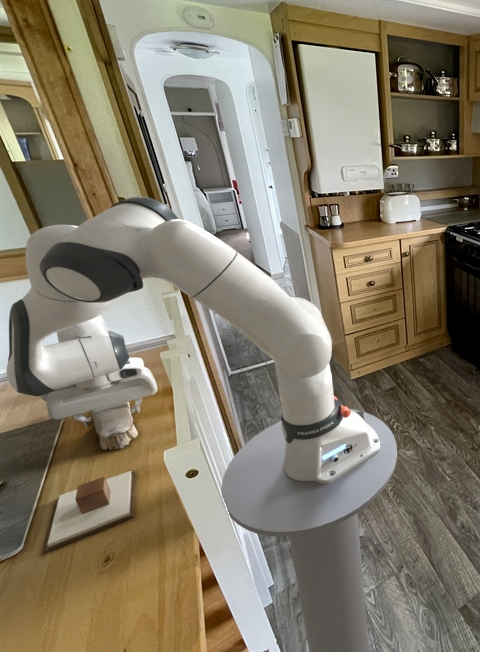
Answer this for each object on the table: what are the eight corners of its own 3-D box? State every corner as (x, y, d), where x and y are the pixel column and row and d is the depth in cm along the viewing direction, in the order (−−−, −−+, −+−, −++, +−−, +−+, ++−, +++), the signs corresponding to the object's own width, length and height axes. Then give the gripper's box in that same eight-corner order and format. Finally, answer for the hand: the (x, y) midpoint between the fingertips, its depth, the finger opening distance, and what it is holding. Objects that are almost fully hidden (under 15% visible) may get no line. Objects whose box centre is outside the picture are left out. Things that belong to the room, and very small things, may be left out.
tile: (134, 472, 85) (133, 468, 84) (133, 517, 75) (131, 512, 74) (59, 499, 78) (56, 494, 77) (45, 552, 67) (43, 547, 67)
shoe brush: (143, 440, 94) (137, 424, 92) (102, 456, 89) (96, 439, 87) (128, 399, 109) (123, 384, 107) (92, 410, 104) (87, 395, 102)
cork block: (110, 491, 79) (104, 476, 77) (109, 504, 76) (103, 489, 74) (84, 500, 76) (77, 485, 75) (81, 514, 73) (75, 499, 72)
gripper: (33, 392, 85) (54, 441, 90) (149, 366, 97) (162, 411, 102) (39, 380, 89) (59, 427, 94) (149, 356, 101) (161, 399, 106)
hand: (113, 418), depth 98 cm, fingers open, 8 cm apart
